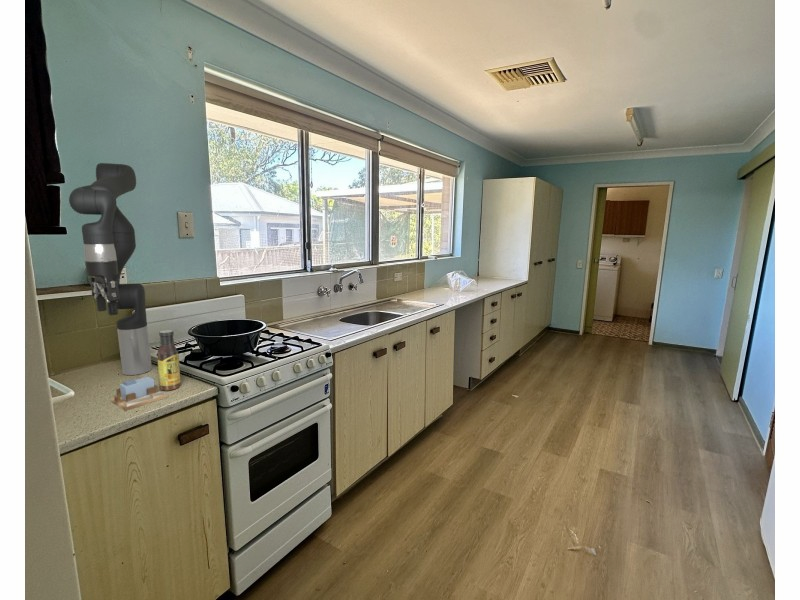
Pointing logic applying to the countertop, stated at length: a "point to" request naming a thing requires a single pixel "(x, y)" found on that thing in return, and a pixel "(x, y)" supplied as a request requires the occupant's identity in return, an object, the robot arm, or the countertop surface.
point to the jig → (136, 402)
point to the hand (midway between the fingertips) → (107, 312)
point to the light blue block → (136, 387)
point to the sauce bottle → (168, 362)
